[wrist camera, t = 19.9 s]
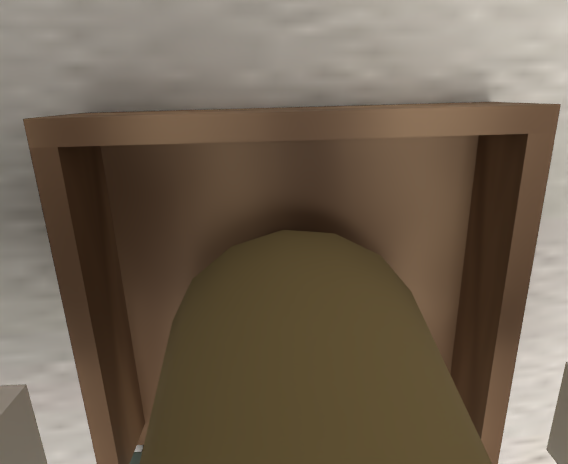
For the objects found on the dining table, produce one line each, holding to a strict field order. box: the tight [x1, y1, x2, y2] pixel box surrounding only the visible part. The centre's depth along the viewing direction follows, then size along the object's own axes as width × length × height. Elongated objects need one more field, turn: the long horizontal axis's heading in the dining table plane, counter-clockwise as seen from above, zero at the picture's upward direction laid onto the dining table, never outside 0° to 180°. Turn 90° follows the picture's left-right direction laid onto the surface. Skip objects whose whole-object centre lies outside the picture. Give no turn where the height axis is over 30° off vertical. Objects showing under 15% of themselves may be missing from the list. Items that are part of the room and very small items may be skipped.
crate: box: [23, 102, 561, 464], centre depth 16 cm, size 15×15×4 cm
